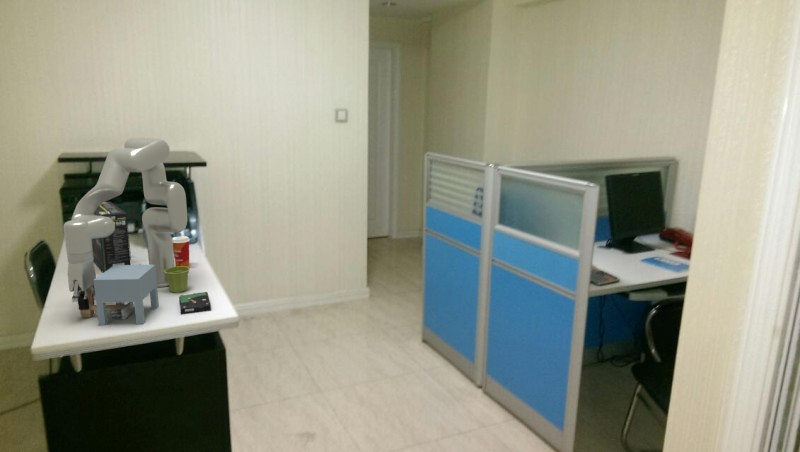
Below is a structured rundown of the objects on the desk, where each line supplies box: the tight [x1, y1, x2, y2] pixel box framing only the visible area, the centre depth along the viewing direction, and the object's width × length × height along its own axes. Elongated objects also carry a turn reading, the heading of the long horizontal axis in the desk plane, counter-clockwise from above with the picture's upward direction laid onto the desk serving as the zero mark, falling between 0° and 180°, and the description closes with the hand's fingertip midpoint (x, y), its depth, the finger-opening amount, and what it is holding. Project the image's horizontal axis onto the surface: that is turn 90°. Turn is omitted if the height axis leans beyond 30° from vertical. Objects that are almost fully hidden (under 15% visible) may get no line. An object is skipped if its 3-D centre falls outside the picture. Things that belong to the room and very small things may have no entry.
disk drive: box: [178, 291, 212, 315], centre depth 193 cm, size 10×3×15 cm
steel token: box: [110, 309, 122, 320], centre depth 182 cm, size 5×5×2 cm
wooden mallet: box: [79, 287, 135, 320], centre depth 181 cm, size 8×15×10 cm, turn 97°
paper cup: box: [172, 235, 191, 268], centre depth 234 cm, size 8×8×14 cm
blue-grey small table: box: [94, 264, 160, 326], centre depth 181 cm, size 16×15×16 cm
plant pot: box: [164, 266, 190, 294], centre depth 207 cm, size 9×9×9 cm
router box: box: [92, 201, 132, 274], centre depth 236 cm, size 36×11×27 cm, turn 39°
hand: (86, 306), depth 180 cm, fingers closed on wooden mallet, 3 cm apart
